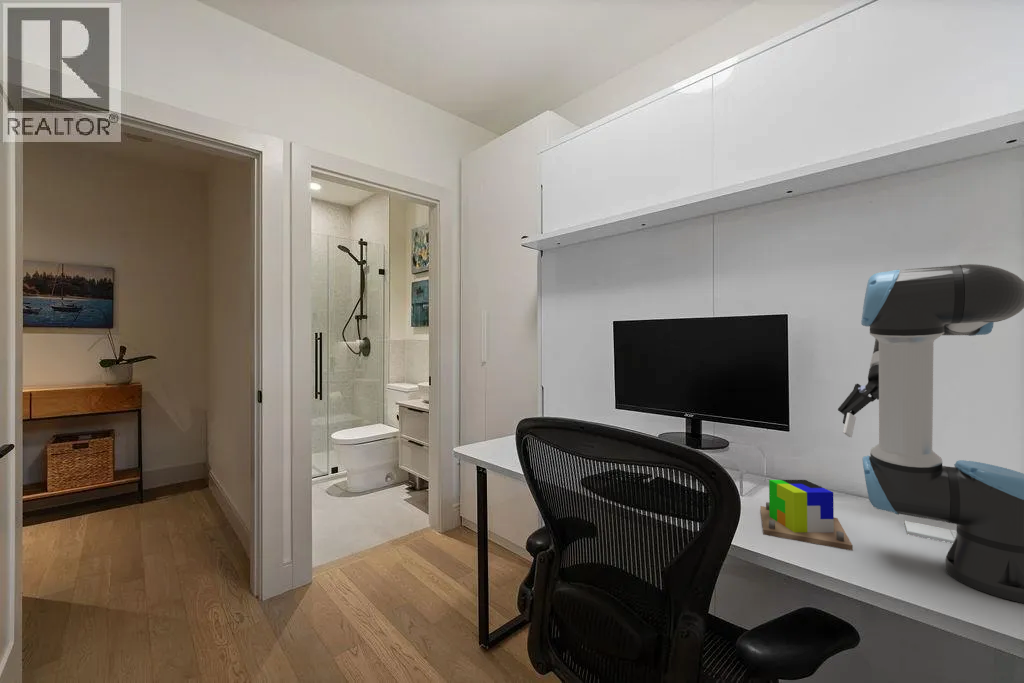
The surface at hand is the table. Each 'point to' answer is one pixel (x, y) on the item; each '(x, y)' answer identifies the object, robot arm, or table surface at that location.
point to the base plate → (822, 538)
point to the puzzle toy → (801, 505)
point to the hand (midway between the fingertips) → (874, 435)
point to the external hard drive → (930, 532)
